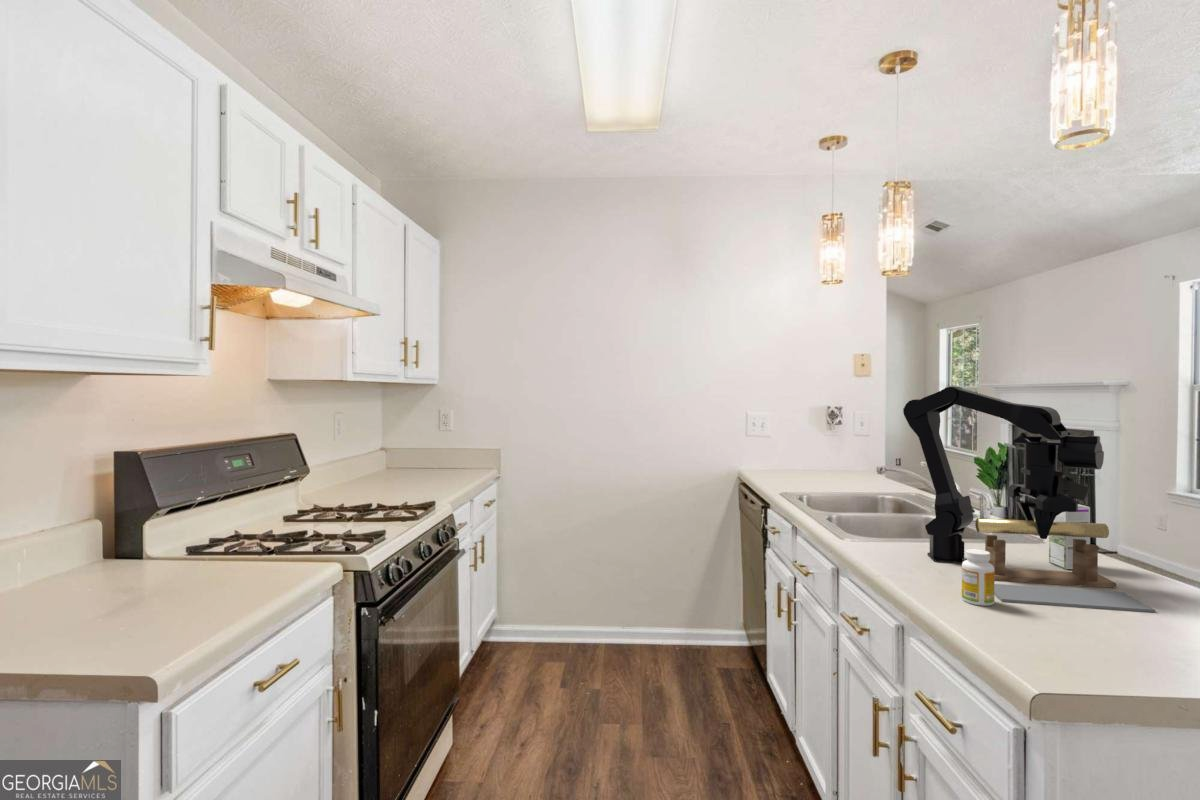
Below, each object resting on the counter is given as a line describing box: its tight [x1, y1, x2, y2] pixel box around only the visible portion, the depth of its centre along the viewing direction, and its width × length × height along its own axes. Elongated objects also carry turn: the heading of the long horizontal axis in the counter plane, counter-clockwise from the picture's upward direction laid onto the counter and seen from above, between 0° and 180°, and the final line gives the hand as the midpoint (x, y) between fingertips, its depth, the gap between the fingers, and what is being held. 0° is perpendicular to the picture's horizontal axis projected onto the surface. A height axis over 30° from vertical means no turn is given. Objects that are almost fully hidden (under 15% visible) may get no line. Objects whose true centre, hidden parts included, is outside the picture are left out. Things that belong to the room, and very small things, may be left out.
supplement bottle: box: [961, 548, 995, 607], centre depth 118 cm, size 5×5×10 cm
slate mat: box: [994, 583, 1157, 613], centre depth 120 cm, size 25×10×1 cm, turn 76°
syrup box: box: [1048, 503, 1091, 570], centre depth 141 cm, size 6×6×14 cm
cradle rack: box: [984, 534, 1117, 588], centre depth 132 cm, size 25×7×8 cm, turn 76°
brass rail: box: [974, 517, 1110, 539], centre depth 132 cm, size 24×3×3 cm, turn 76°
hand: (1039, 537), depth 132 cm, fingers closed on brass rail, 3 cm apart
